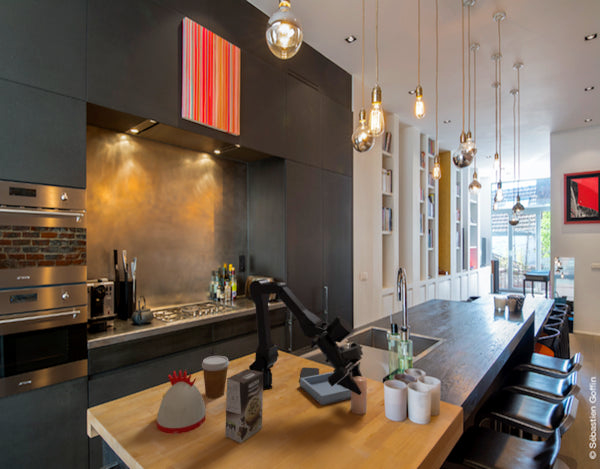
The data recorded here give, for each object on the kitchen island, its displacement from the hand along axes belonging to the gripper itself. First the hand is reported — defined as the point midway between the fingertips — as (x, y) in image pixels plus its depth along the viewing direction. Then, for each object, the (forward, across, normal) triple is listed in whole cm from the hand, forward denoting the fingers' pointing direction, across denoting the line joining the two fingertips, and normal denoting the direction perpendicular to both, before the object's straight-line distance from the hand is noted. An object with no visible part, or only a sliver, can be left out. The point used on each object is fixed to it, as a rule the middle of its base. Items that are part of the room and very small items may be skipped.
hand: (363, 390), depth 109 cm
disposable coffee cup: (-30, -13, +40) cm, 52 cm away
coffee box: (-14, -28, +24) cm, 39 cm away
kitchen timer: (-28, -32, +38) cm, 57 cm away
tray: (-6, +9, +15) cm, 18 cm away
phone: (-14, +17, +24) cm, 33 cm away
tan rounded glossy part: (+4, 0, +6) cm, 7 cm away
